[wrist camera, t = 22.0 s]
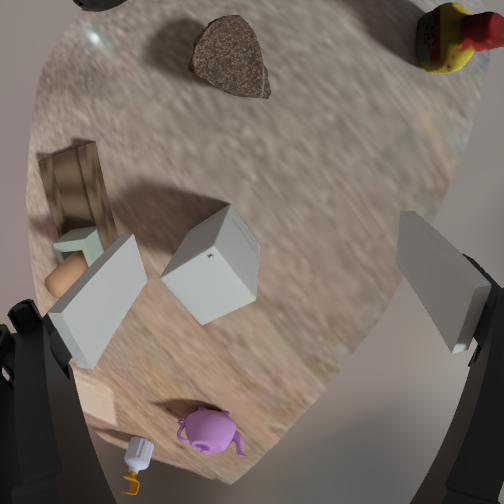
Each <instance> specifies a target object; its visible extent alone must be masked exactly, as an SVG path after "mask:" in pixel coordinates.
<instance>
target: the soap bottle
mask: <svg viewBox="0 0 504 504" xmlns="http://www.w3.org/2000/svg"><path fill="white" fill-rule="evenodd" d="M153 448H154V445H153V443H152V442H150V441H149V440H147V439H145V438H142V437H137V436H134V437H132V438H131V440H130V443H129V446H128V448H127V451H126V454H125V457H124V458H125V461H126V463H127V464H128V465H129V467H130V468H129V473H130V475H128V476H124V478H126V479H128V480H129V481H131V486H130V490H129V492H128V493H126V492H121V493H125V494H132V495H136V494H137V492H138V488H139V485H140V484H139V482H138V481H137V480H135V477H134V475H137V473H138V470H143V469H146V468H147V467H148V465H149V462H150V458H151V455H152V451H153Z"/></svg>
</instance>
